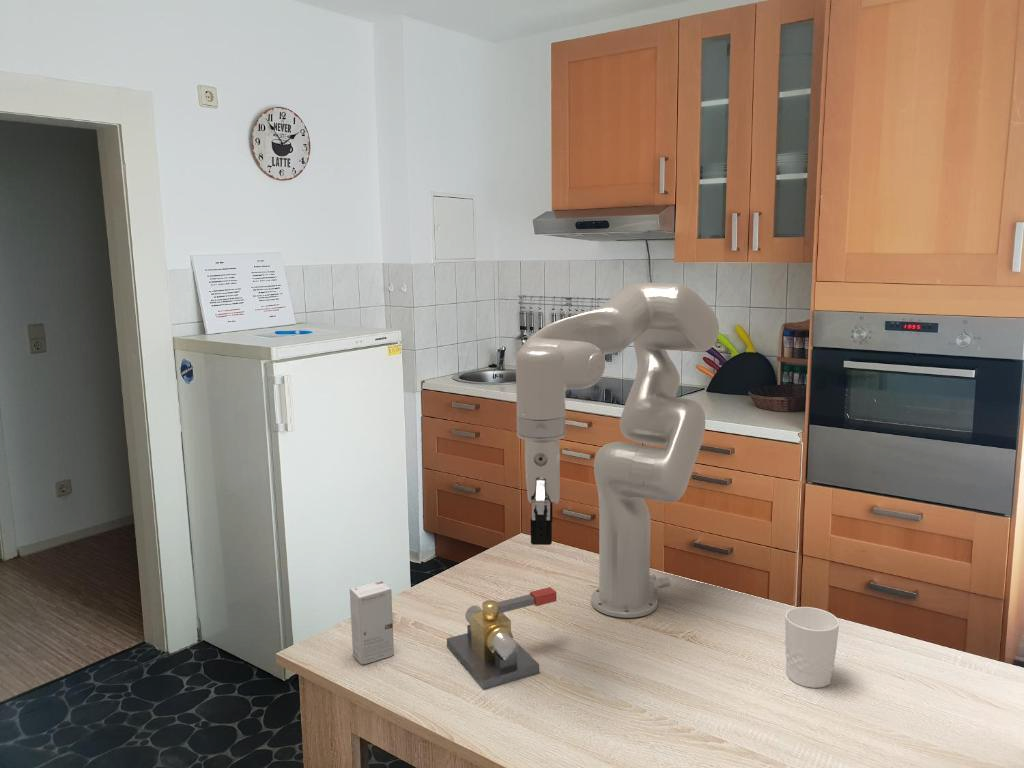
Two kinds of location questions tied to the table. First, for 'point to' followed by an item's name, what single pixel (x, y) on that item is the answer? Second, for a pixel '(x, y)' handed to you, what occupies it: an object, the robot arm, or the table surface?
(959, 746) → the table surface
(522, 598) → the valve lever
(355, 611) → the skincare box
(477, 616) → the valve manifold
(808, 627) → the white cup
